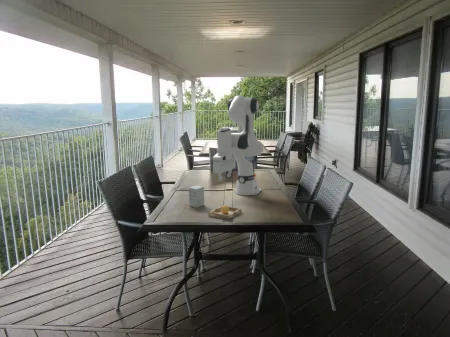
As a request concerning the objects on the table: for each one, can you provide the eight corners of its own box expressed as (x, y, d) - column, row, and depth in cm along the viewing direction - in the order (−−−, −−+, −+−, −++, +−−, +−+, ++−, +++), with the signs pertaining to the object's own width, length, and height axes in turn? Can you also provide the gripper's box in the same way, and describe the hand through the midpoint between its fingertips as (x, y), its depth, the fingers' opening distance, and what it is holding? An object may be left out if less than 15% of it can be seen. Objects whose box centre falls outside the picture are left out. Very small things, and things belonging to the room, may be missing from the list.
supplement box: (196, 203, 239) (196, 185, 236) (204, 205, 234) (204, 186, 232) (188, 205, 233) (188, 187, 231) (196, 207, 229) (196, 189, 226)
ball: (223, 211, 218) (223, 203, 217) (230, 212, 216) (230, 204, 215) (219, 213, 214) (219, 206, 213) (226, 215, 212) (226, 207, 211)
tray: (222, 209, 225) (222, 205, 225) (241, 212, 218) (241, 208, 218) (208, 216, 212) (208, 212, 212) (228, 219, 205) (228, 215, 204)
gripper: (229, 152, 218) (229, 174, 221) (210, 157, 201) (211, 181, 204) (238, 153, 215) (238, 175, 218) (220, 158, 198) (220, 182, 201)
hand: (224, 178), depth 211 cm, fingers open, 8 cm apart
